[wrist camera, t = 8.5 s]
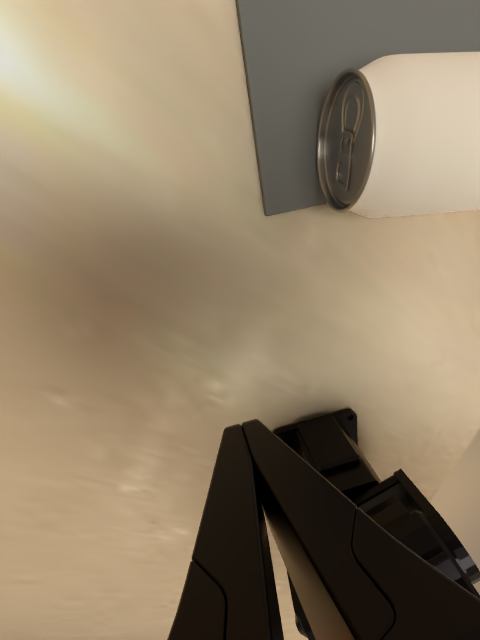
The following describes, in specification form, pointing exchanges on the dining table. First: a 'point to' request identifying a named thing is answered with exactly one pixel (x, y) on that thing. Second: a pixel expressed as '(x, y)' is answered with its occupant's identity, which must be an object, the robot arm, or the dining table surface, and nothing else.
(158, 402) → the dining table surface
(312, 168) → the mat
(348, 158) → the can
